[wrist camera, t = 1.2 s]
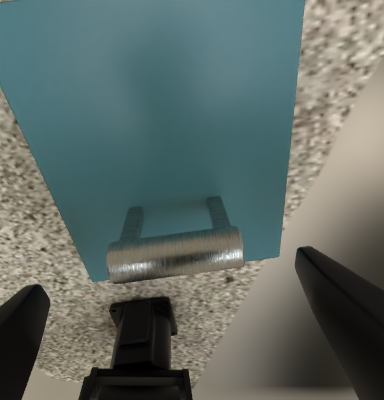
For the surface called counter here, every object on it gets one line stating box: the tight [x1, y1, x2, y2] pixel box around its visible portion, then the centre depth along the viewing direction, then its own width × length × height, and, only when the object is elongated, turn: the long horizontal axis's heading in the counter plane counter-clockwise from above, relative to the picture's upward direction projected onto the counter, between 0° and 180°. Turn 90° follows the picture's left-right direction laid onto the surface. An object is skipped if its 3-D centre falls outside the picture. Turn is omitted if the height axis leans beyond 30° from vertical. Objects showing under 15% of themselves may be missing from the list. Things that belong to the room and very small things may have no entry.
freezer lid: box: [0, 0, 305, 284], centre depth 10 cm, size 13×11×5 cm
